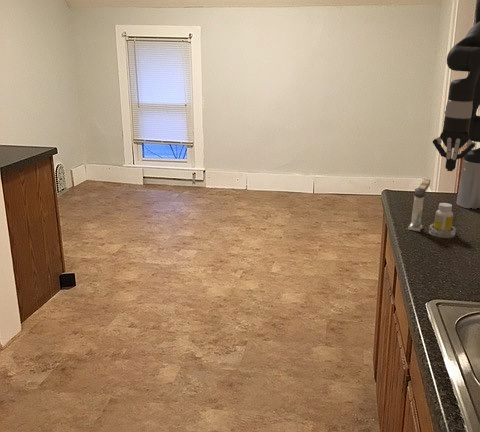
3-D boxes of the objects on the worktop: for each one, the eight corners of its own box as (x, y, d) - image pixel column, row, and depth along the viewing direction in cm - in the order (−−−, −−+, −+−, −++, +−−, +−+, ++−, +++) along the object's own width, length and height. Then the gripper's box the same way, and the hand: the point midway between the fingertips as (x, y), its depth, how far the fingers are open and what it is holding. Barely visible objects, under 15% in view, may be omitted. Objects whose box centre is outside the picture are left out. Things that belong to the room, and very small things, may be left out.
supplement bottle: (450, 231, 185) (454, 203, 181) (450, 237, 180) (454, 208, 177) (433, 229, 186) (437, 201, 183) (432, 235, 181) (436, 206, 178)
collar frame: (411, 224, 191) (415, 192, 187) (456, 231, 185) (461, 198, 181) (406, 231, 184) (410, 198, 180) (453, 239, 178) (458, 205, 174)
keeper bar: (423, 197, 181) (424, 191, 180) (413, 196, 182) (414, 190, 181) (431, 185, 194) (432, 180, 193) (421, 184, 195) (422, 178, 195)
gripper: (482, 115, 171) (473, 170, 177) (437, 111, 177) (429, 165, 182) (480, 119, 165) (471, 176, 171) (433, 115, 170) (426, 170, 176)
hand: (449, 170), depth 177 cm, fingers closed
